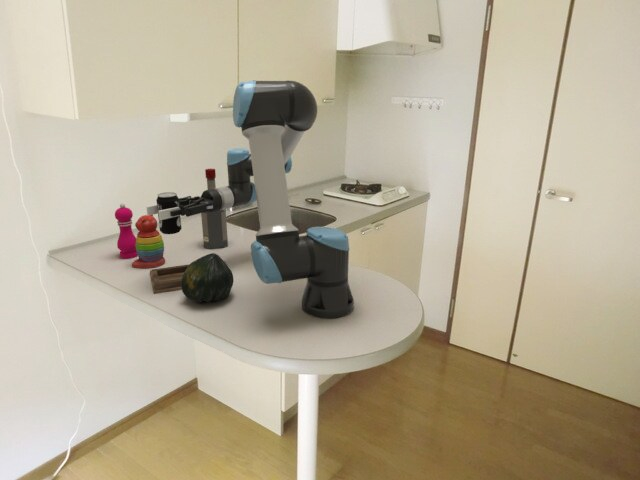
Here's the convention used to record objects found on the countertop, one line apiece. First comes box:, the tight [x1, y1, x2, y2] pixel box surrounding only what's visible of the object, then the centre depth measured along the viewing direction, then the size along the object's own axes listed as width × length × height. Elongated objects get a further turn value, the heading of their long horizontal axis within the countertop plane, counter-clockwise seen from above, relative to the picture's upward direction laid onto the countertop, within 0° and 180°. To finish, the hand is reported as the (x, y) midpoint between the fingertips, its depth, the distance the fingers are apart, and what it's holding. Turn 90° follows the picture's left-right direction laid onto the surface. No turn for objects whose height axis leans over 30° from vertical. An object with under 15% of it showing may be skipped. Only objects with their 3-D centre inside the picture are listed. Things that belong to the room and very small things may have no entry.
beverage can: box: [156, 191, 182, 235], centre depth 151 cm, size 7×7×12 cm
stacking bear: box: [131, 214, 166, 269], centre depth 170 cm, size 11×10×18 cm
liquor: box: [200, 168, 229, 250], centre depth 187 cm, size 9×9×30 cm
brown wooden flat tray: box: [149, 263, 191, 294], centre depth 160 cm, size 18×16×3 cm
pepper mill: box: [114, 202, 138, 260], centre depth 177 cm, size 7×7×20 cm
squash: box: [182, 252, 234, 303], centre depth 145 cm, size 14×15×15 cm
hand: (153, 213), depth 147 cm, fingers closed on beverage can, 6 cm apart
